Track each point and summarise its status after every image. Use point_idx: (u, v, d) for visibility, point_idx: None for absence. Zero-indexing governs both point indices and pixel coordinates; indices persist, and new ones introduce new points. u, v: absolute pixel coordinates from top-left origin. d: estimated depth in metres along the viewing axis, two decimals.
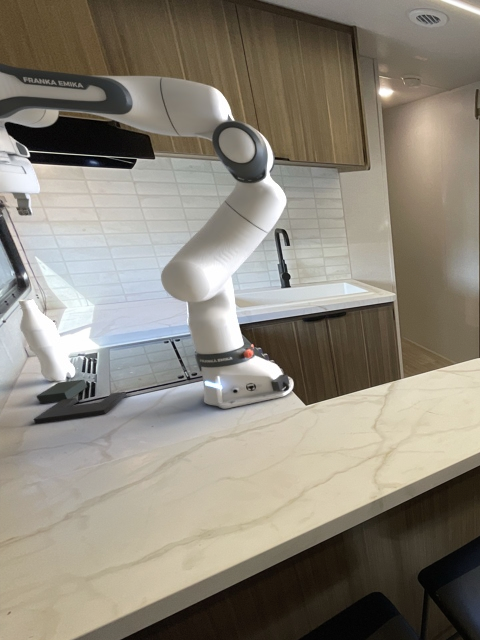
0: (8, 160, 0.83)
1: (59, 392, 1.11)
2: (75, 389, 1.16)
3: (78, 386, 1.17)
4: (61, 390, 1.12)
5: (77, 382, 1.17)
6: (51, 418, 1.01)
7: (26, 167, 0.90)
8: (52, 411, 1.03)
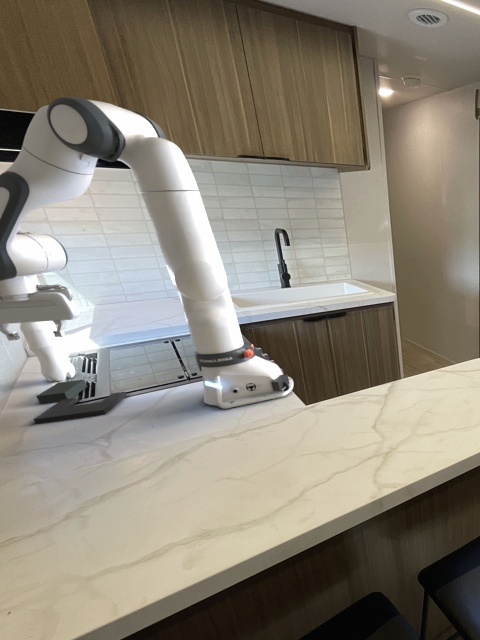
0: None
1: (59, 392, 1.11)
2: (75, 389, 1.16)
3: (78, 386, 1.17)
4: (61, 390, 1.12)
5: (77, 382, 1.17)
6: (51, 418, 1.01)
7: None
8: (52, 411, 1.03)
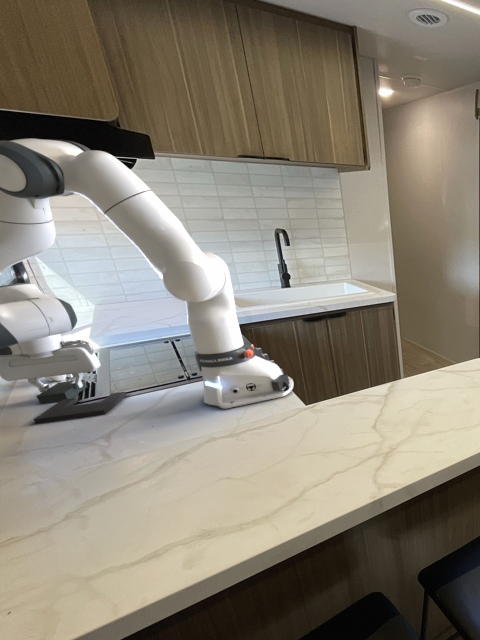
0: None
1: (59, 392, 1.11)
2: (75, 389, 1.16)
3: None
4: (62, 390, 1.12)
5: None
6: (51, 418, 1.01)
7: None
8: (52, 411, 1.03)
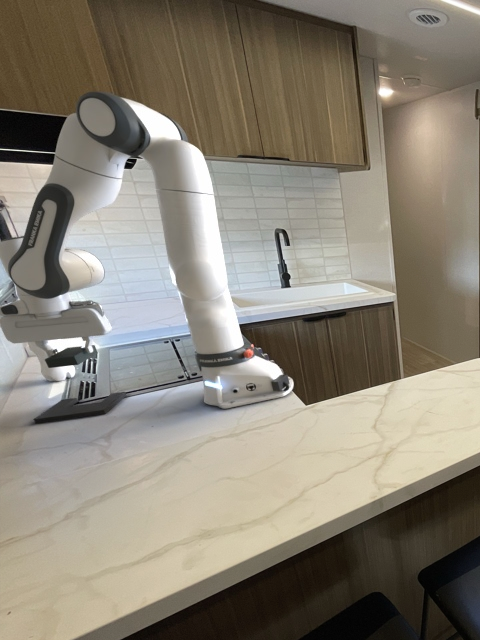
0: None
1: (68, 356, 1.04)
2: (85, 354, 1.08)
3: None
4: (71, 354, 1.05)
5: None
6: (51, 418, 1.01)
7: None
8: (52, 411, 1.03)
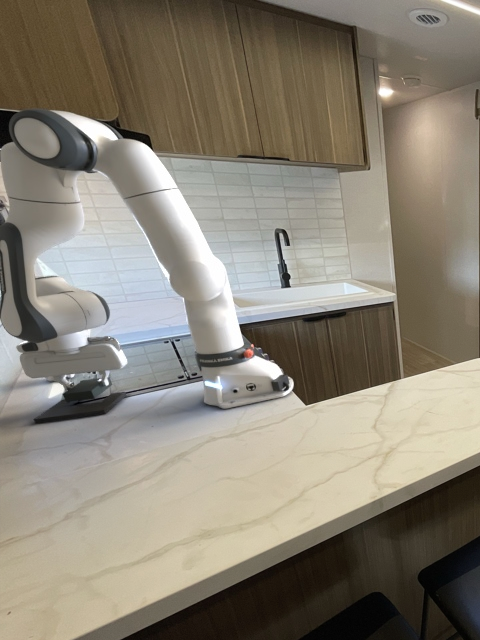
0: None
1: (86, 390, 1.07)
2: (101, 387, 1.11)
3: None
4: (88, 388, 1.08)
5: None
6: (51, 418, 1.01)
7: None
8: (52, 411, 1.03)
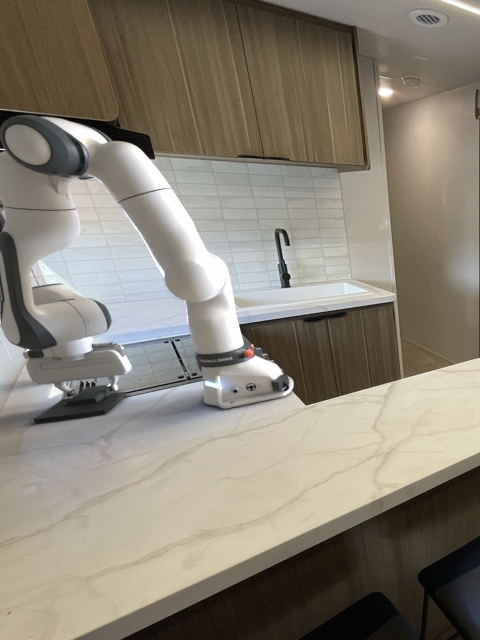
0: None
1: (89, 397, 1.08)
2: (105, 395, 1.12)
3: (107, 391, 1.13)
4: (92, 395, 1.09)
5: (106, 387, 1.14)
6: (51, 418, 1.01)
7: None
8: (52, 411, 1.03)
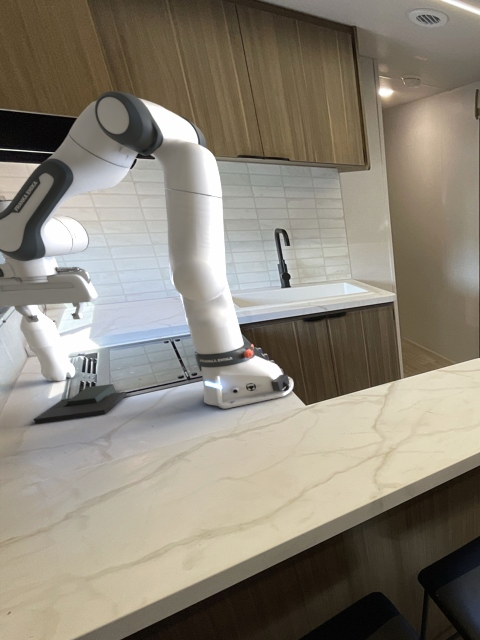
0: None
1: (89, 397, 1.08)
2: (105, 395, 1.12)
3: (107, 391, 1.13)
4: (92, 395, 1.09)
5: (106, 387, 1.14)
6: (51, 418, 1.01)
7: None
8: (52, 411, 1.03)
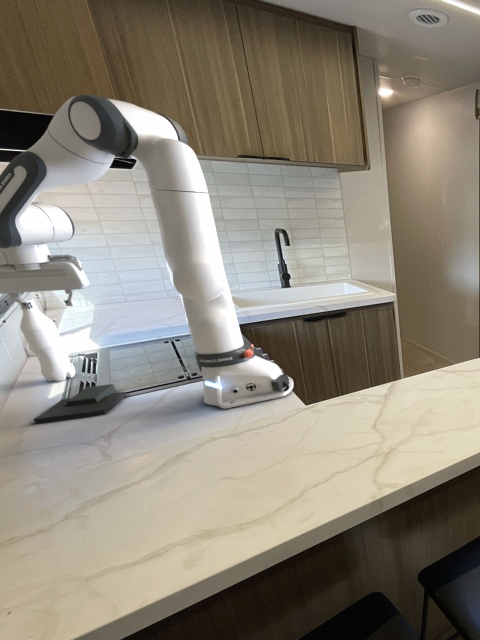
0: None
1: (89, 397, 1.08)
2: (105, 395, 1.12)
3: (107, 391, 1.13)
4: (92, 395, 1.09)
5: (106, 387, 1.14)
6: (51, 418, 1.01)
7: None
8: (52, 411, 1.03)
